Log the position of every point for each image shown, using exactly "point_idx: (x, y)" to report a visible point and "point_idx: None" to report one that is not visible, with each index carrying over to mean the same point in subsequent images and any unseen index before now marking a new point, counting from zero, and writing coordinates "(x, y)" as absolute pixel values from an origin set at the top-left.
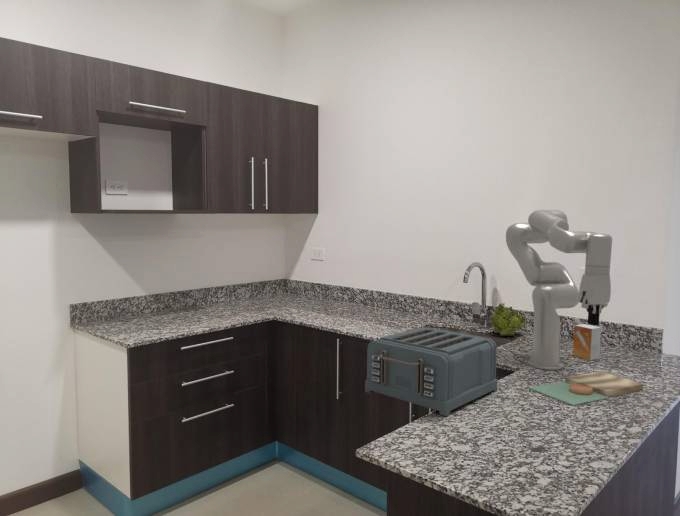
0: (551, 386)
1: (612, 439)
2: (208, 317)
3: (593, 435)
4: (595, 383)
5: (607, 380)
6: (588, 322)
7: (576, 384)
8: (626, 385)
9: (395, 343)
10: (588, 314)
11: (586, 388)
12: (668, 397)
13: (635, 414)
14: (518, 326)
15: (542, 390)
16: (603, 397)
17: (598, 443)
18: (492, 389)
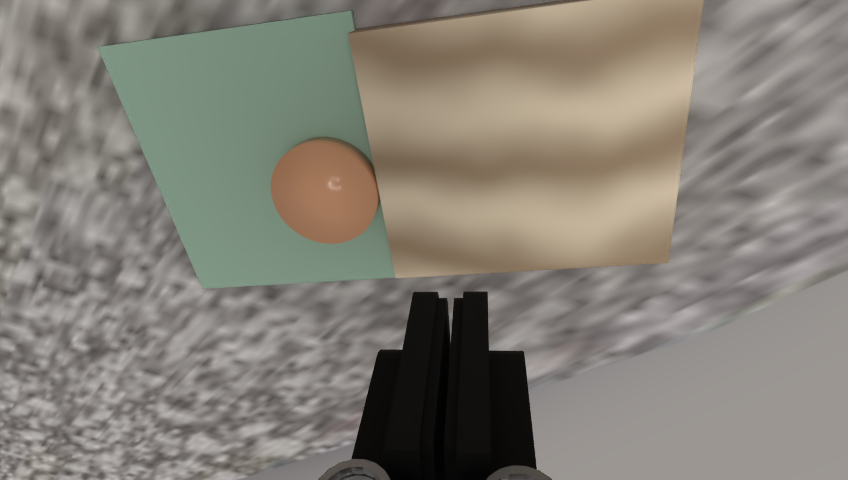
0: (229, 74)
1: (181, 460)
2: None
3: (146, 436)
4: (437, 180)
5: (548, 160)
6: (415, 311)
7: (330, 157)
8: (563, 251)
9: None
10: (394, 409)
11: (333, 223)
12: (654, 339)
13: None
14: None
15: (153, 113)
16: (375, 272)
17: (135, 461)
18: None
